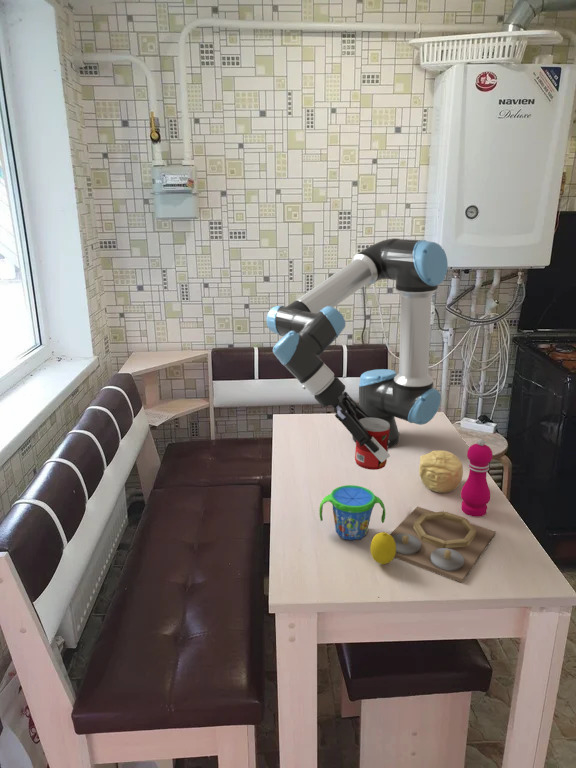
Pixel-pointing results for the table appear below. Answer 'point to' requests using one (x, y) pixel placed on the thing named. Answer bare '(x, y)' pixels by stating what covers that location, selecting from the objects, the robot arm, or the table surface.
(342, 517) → the snack cup
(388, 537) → the lemon
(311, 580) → the table surface
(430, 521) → the board
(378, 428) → the canned food
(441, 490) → the sculpture
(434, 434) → the table surface
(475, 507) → the pepper mill
